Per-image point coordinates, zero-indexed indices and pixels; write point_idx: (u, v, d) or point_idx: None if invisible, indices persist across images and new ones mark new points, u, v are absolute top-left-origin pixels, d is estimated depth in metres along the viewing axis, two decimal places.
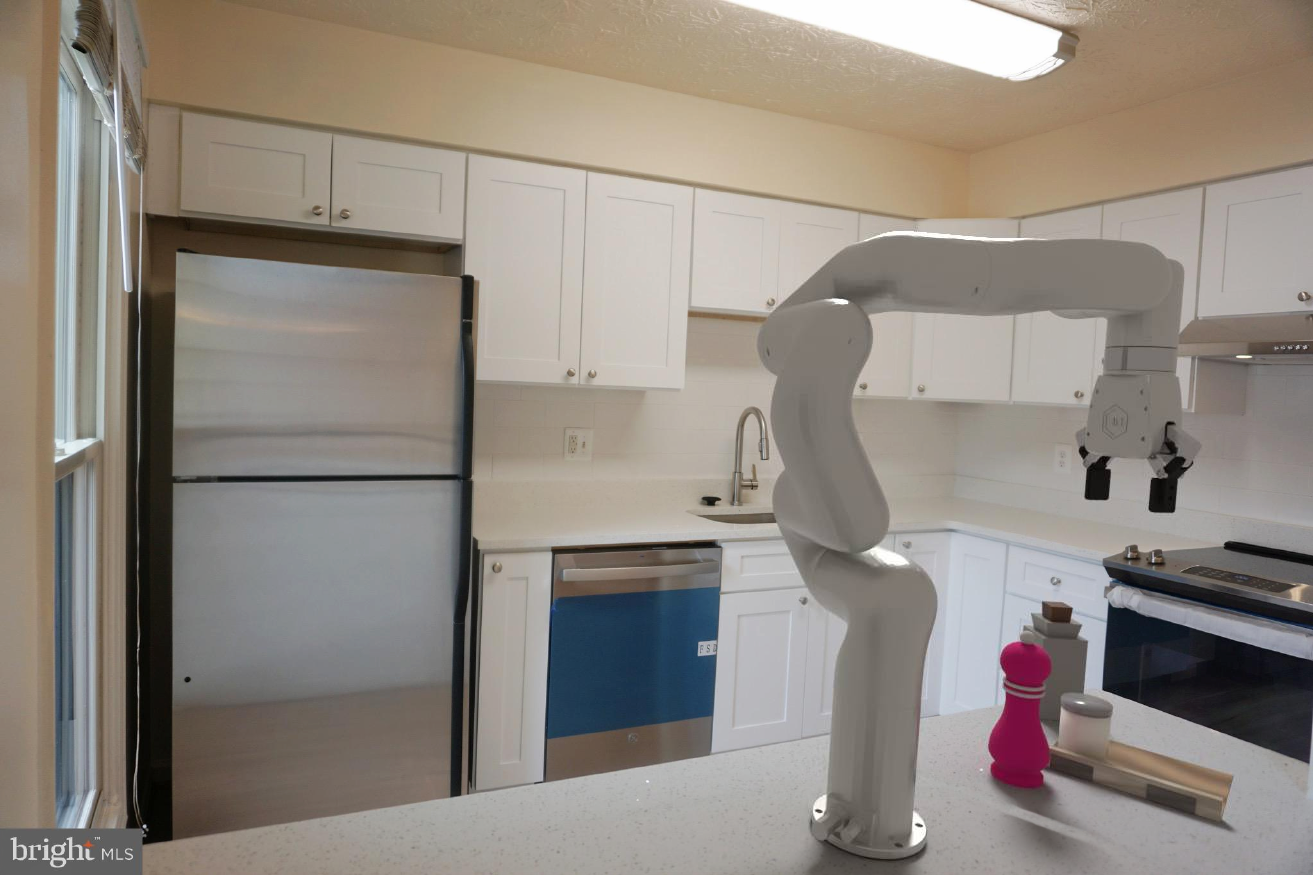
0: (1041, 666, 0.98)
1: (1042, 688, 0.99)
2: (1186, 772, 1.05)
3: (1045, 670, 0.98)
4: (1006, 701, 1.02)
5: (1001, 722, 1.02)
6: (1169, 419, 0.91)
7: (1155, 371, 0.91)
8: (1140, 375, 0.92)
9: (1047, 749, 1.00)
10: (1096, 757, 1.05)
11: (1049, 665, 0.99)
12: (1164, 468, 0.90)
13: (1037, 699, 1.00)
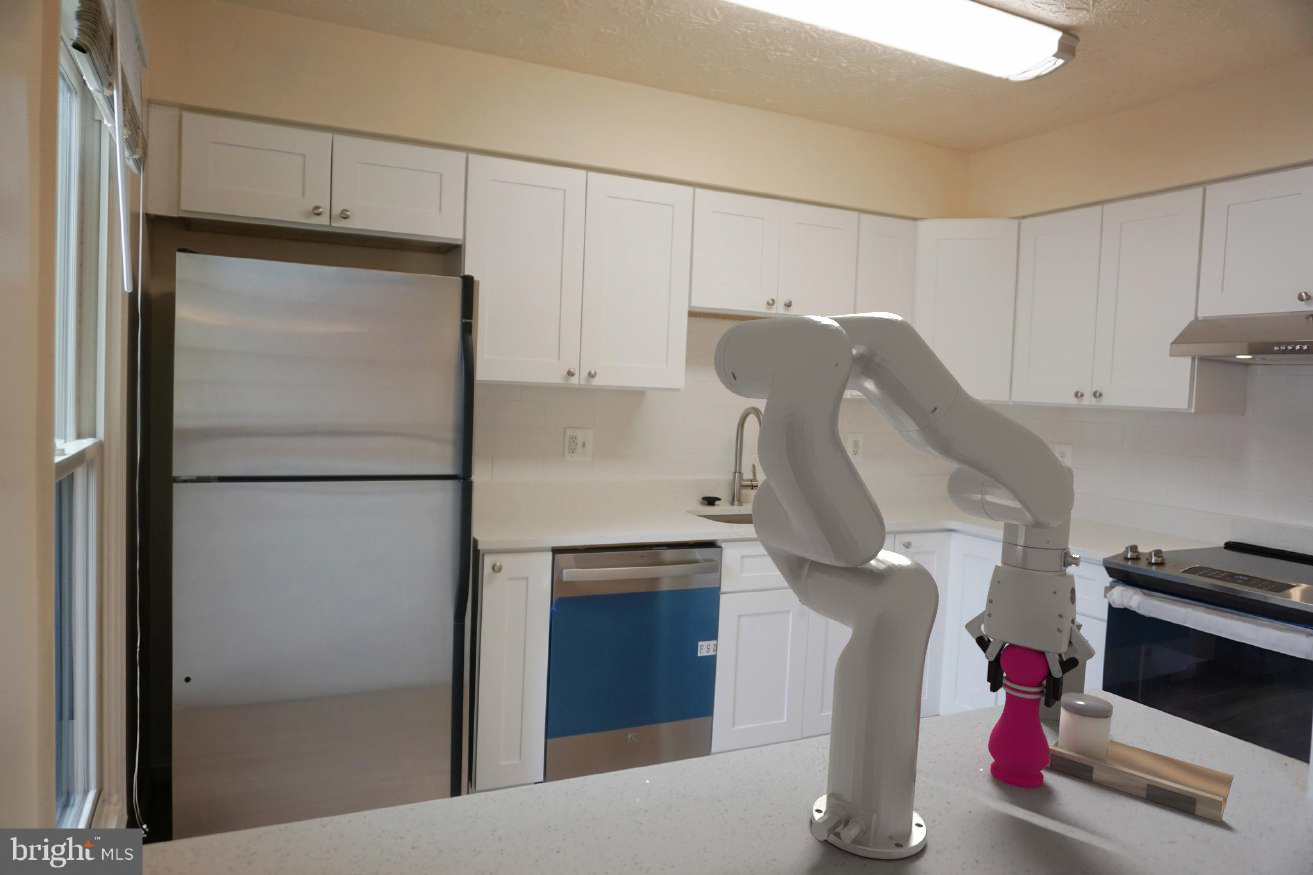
0: (1041, 666, 0.98)
1: (1042, 688, 0.99)
2: (1186, 772, 1.05)
3: (1045, 670, 0.98)
4: (1006, 701, 1.02)
5: (1001, 722, 1.02)
6: None
7: None
8: None
9: (1047, 749, 1.00)
10: (1096, 757, 1.05)
11: None
12: None
13: (1037, 699, 1.00)
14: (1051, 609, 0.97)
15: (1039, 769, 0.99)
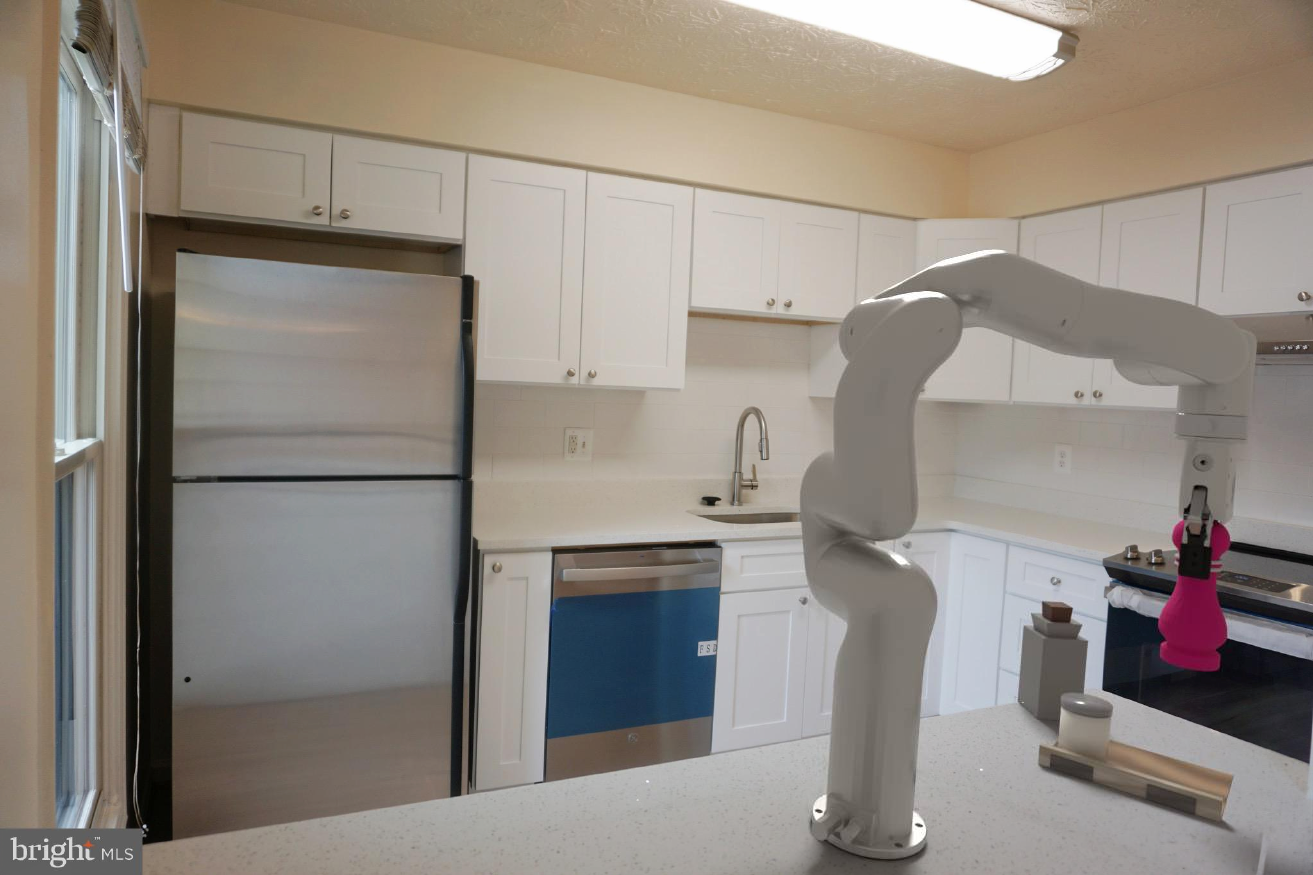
0: (1181, 533, 0.98)
1: None
2: (1186, 772, 1.05)
3: None
4: None
5: None
6: None
7: None
8: None
9: (1188, 623, 0.97)
10: (1096, 757, 1.05)
11: None
12: None
13: None
14: None
15: (1173, 637, 0.98)
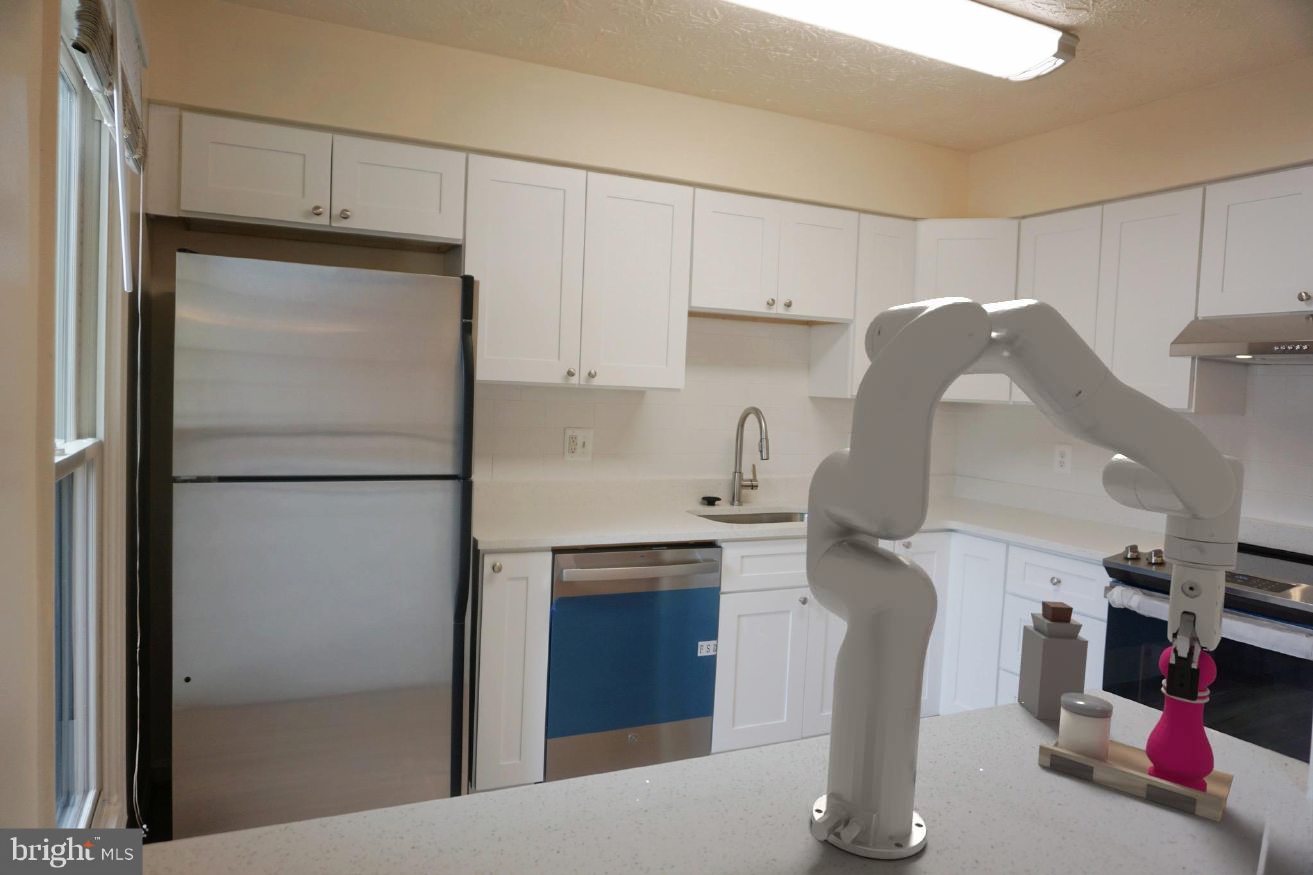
0: None
1: None
2: None
3: None
4: None
5: None
6: None
7: None
8: None
9: (1175, 753, 0.98)
10: (1096, 757, 1.05)
11: None
12: None
13: (1174, 700, 0.99)
14: None
15: (1160, 766, 0.99)
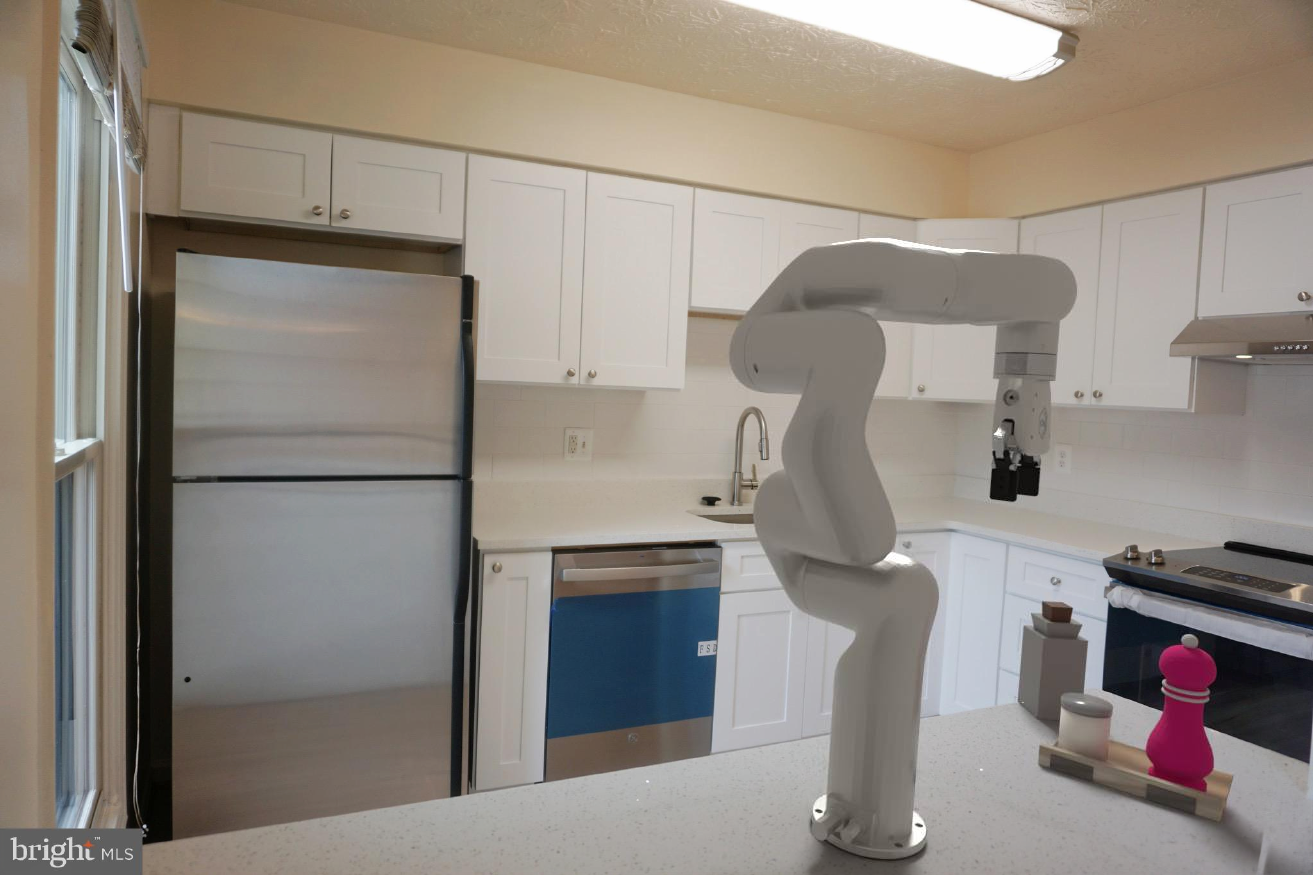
0: (1168, 663, 0.99)
1: (1177, 689, 0.98)
2: None
3: (1172, 668, 0.98)
4: None
5: None
6: None
7: None
8: (1049, 381, 1.05)
9: (1175, 753, 0.98)
10: (1096, 757, 1.05)
11: (1181, 667, 0.98)
12: (1039, 458, 1.09)
13: (1174, 700, 0.99)
14: None
15: (1160, 766, 0.99)
